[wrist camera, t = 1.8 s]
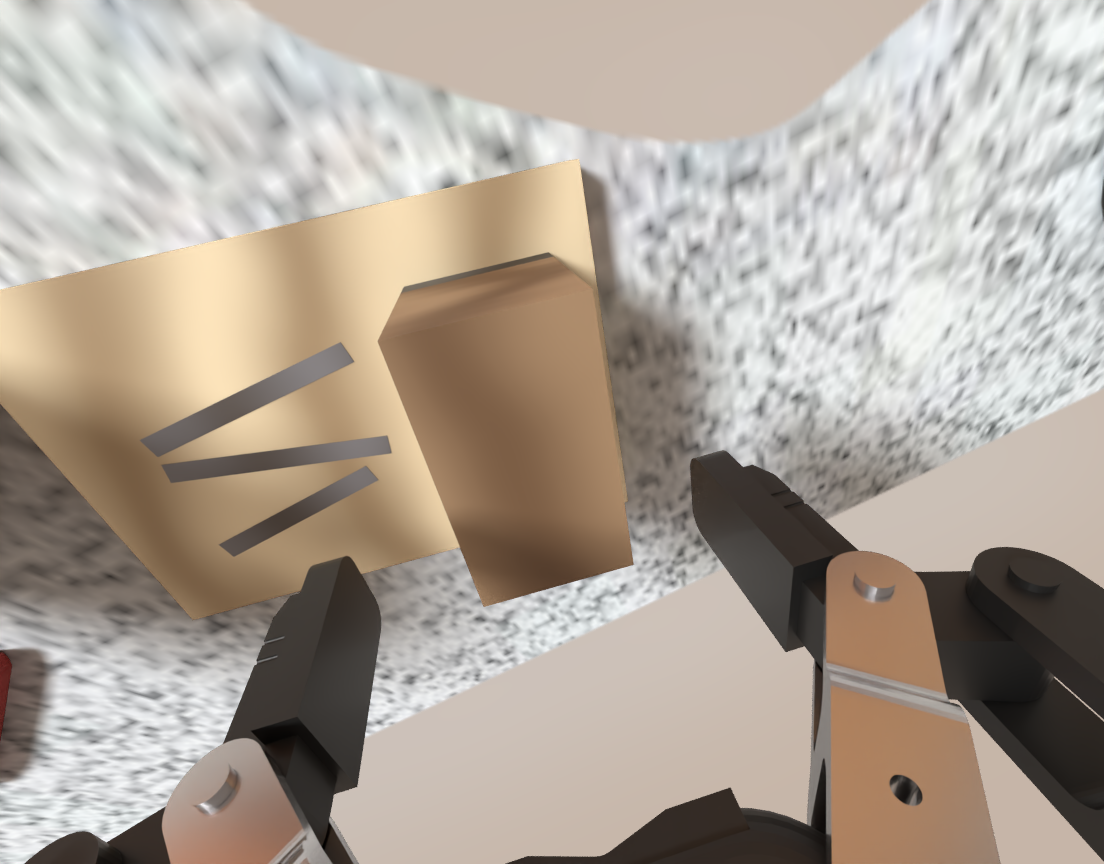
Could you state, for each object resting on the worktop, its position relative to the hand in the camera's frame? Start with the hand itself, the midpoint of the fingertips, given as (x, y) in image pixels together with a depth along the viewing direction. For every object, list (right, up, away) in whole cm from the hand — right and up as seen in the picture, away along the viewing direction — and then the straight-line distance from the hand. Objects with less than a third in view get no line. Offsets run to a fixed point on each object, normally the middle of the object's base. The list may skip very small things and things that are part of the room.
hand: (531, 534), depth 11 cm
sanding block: (-1, +4, +7) cm, 8 cm away
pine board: (-7, +3, +8) cm, 11 cm away
